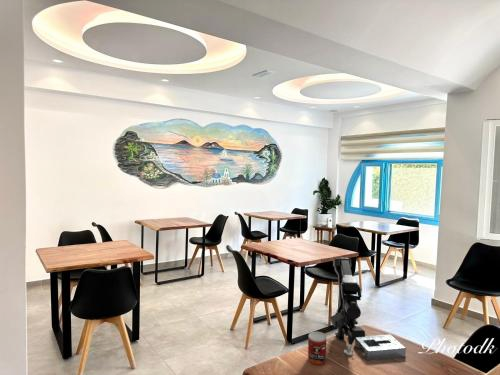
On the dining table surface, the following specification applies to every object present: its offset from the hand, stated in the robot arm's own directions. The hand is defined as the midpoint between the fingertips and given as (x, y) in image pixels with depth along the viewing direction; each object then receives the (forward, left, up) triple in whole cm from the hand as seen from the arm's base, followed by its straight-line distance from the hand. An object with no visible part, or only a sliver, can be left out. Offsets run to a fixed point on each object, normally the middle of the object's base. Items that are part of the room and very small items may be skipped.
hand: (348, 342), depth 146 cm
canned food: (+3, -16, -5) cm, 17 cm away
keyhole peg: (0, 0, -5) cm, 5 cm away
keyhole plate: (0, +15, -5) cm, 16 cm away
